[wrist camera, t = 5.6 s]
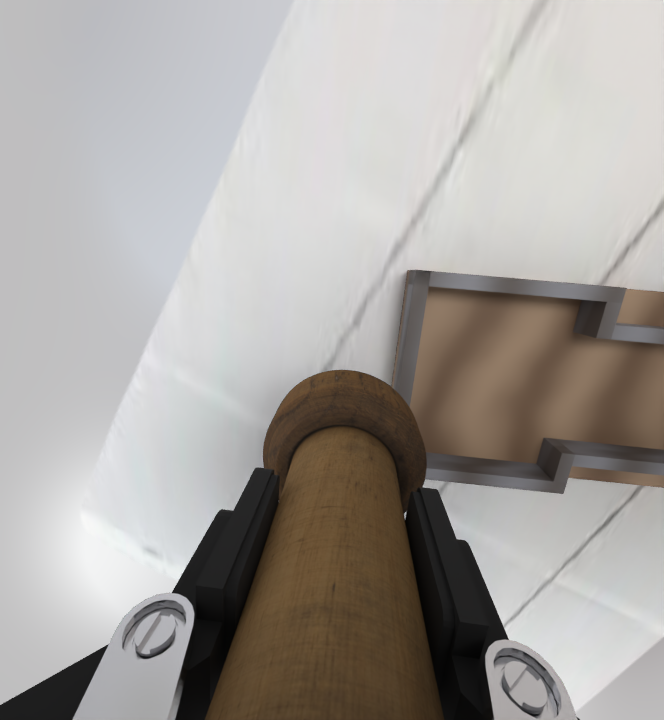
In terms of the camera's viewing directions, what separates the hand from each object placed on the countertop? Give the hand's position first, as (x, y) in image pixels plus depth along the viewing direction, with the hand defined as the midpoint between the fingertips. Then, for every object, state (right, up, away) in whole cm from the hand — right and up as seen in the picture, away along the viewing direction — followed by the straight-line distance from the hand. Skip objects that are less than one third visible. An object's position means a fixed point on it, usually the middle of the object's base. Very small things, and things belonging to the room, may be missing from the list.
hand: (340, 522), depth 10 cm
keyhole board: (+17, +3, +17) cm, 25 cm away
